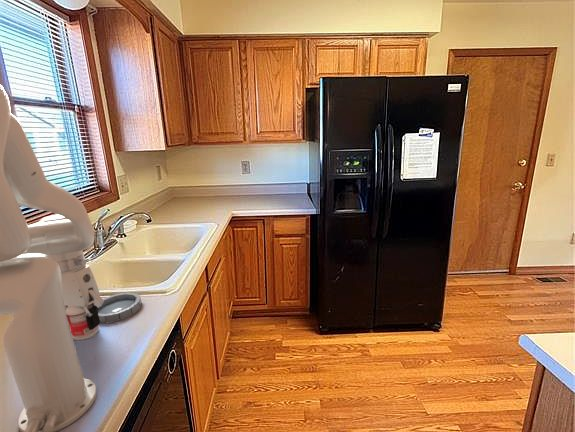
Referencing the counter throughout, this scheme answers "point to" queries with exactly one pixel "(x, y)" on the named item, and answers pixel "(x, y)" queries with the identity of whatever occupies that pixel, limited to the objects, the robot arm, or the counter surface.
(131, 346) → the counter surface
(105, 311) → the round grey tray
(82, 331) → the pill bottle
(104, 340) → the counter surface
